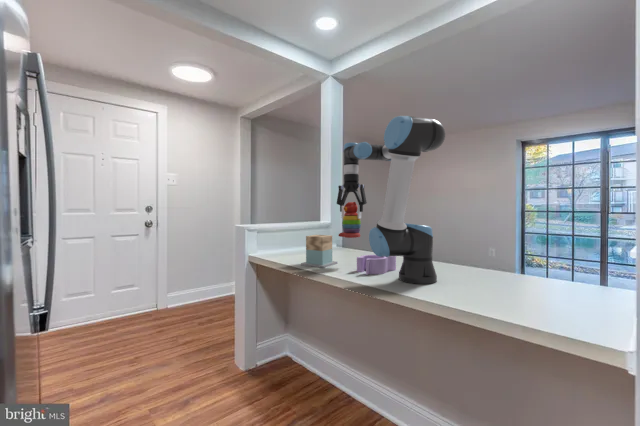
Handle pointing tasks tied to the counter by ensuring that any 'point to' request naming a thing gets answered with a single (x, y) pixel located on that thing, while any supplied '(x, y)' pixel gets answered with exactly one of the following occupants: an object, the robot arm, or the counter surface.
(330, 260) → the tower base
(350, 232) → the stacking bear
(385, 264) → the clip
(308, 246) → the oak brick
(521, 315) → the counter surface
